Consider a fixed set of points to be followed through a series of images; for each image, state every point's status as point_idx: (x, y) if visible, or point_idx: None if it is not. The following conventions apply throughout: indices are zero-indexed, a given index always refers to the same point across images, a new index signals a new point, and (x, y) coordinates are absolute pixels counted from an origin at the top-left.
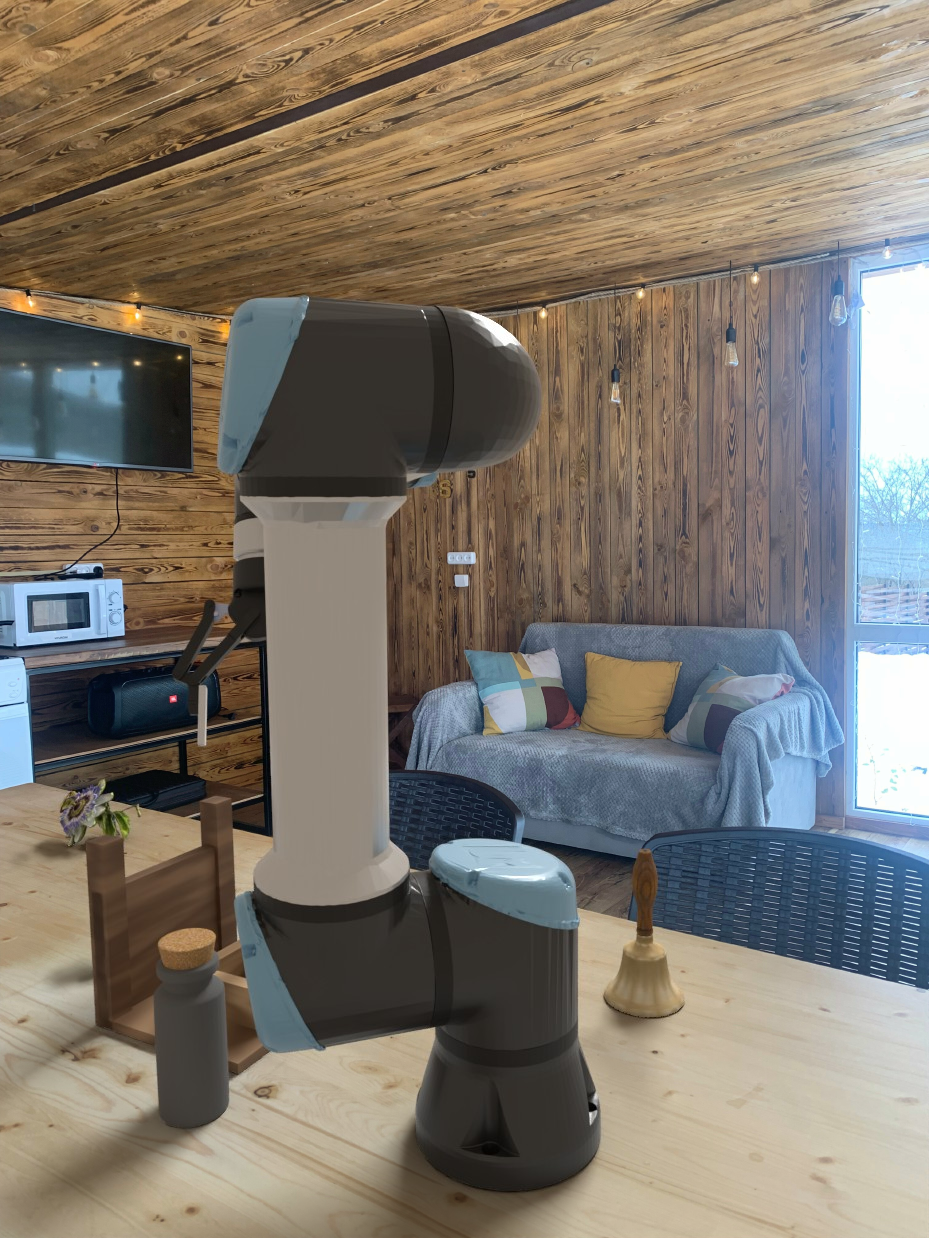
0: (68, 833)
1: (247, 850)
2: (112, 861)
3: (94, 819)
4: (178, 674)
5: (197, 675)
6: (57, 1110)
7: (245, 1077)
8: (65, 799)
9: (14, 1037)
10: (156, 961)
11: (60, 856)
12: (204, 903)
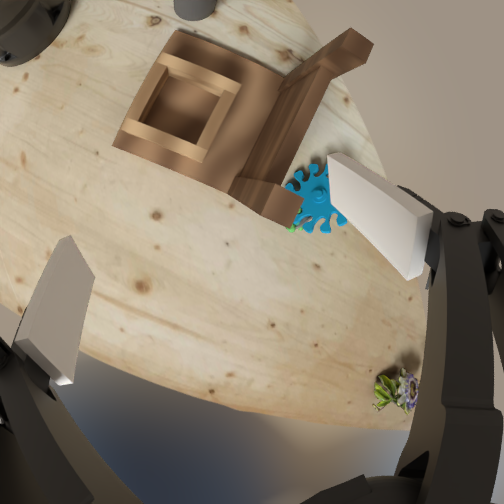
0: (409, 373)
1: (283, 395)
2: (336, 42)
3: (400, 382)
4: (495, 212)
5: (459, 231)
6: (274, 8)
7: (170, 30)
8: None
9: (340, 80)
10: (275, 112)
11: (406, 354)
12: (257, 163)
